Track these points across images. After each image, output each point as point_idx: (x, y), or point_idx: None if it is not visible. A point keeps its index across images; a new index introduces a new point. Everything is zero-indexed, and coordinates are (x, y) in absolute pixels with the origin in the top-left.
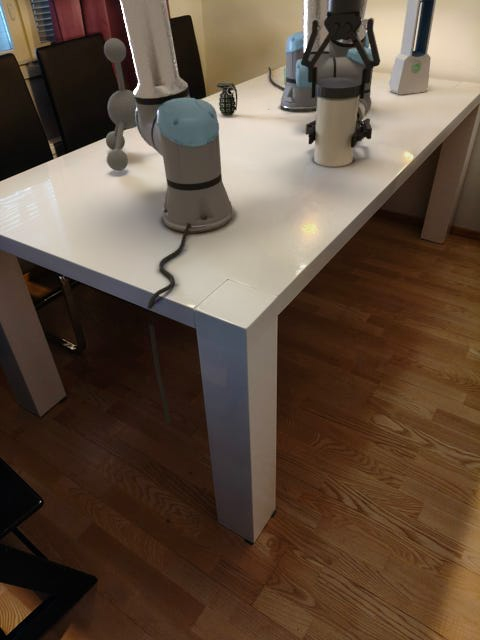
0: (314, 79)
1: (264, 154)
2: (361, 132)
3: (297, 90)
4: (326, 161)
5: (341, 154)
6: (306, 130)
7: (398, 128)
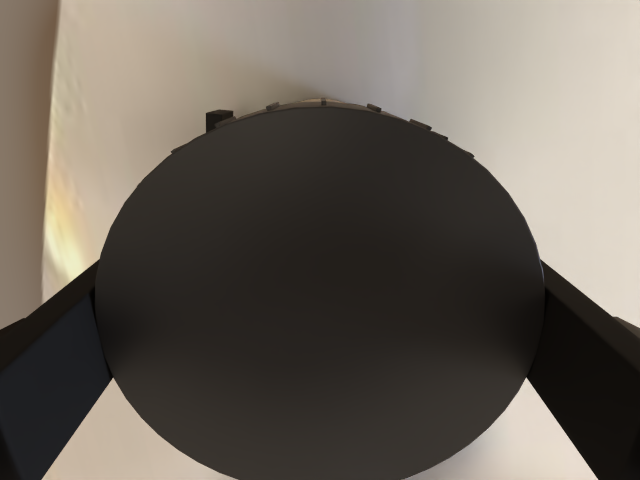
0: (582, 312)
1: (590, 194)
2: None
3: None
4: (338, 101)
5: None
6: None
7: (157, 476)
